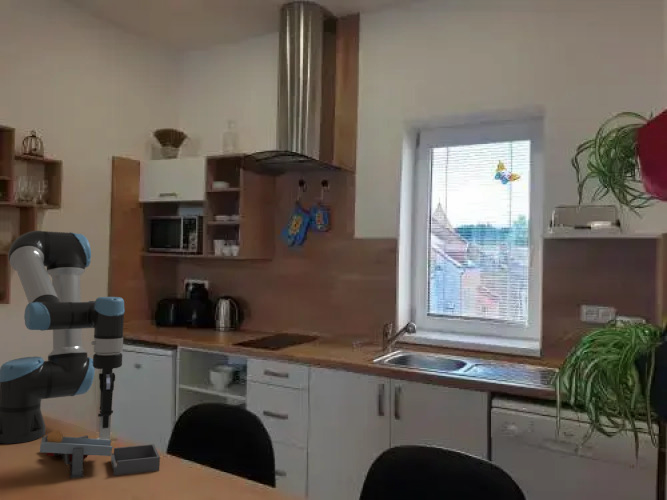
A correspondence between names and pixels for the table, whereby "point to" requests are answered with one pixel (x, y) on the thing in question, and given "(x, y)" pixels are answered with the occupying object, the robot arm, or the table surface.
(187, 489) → the table surface
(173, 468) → the table surface
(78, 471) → the stand
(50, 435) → the ball
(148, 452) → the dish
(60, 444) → the rimmed blue-grey trough
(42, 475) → the table surface
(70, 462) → the toy
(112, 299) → the robot arm
